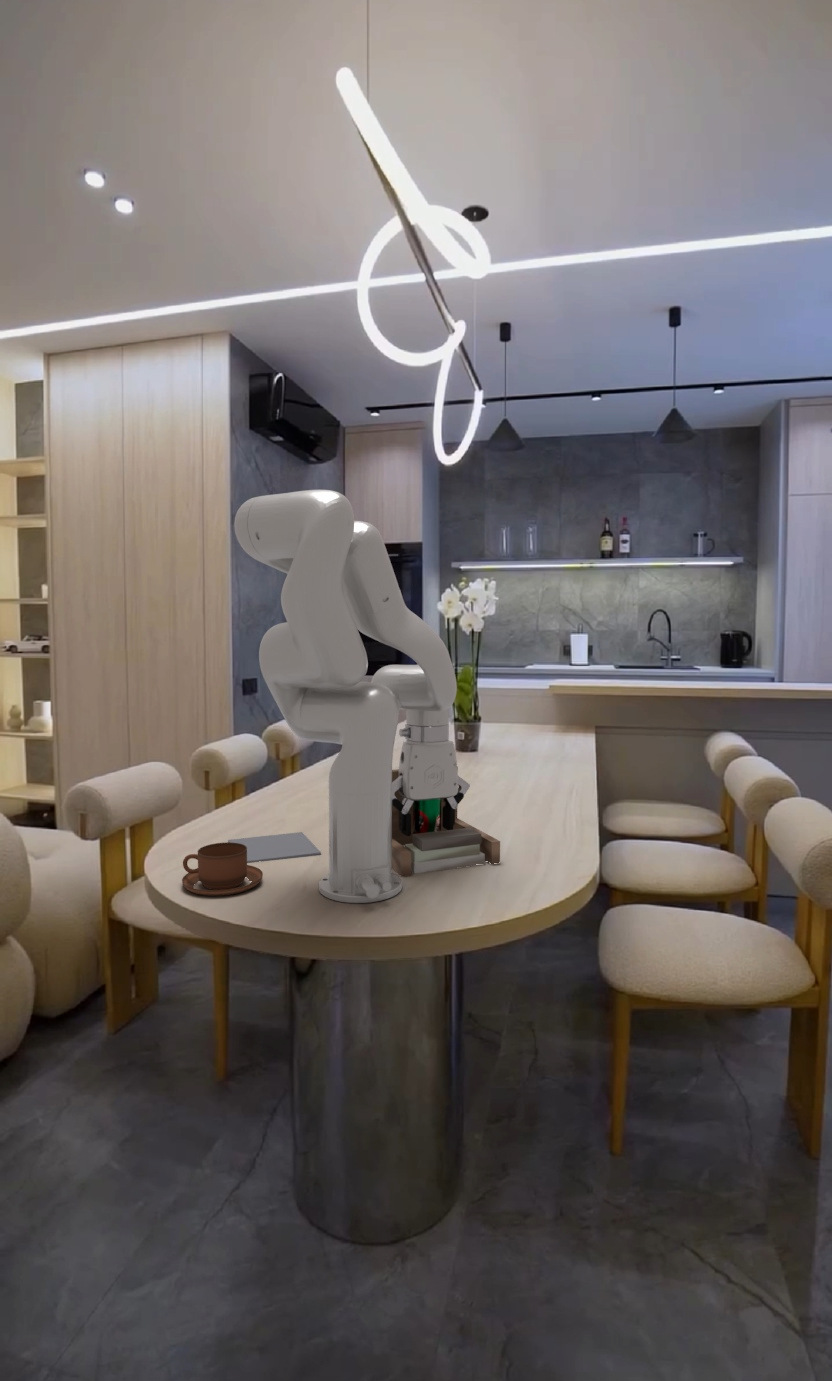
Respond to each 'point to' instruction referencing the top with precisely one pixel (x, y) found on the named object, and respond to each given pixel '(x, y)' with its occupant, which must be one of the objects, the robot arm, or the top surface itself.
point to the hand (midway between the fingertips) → (427, 831)
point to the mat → (277, 847)
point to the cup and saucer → (221, 870)
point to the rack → (439, 845)
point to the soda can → (426, 816)
